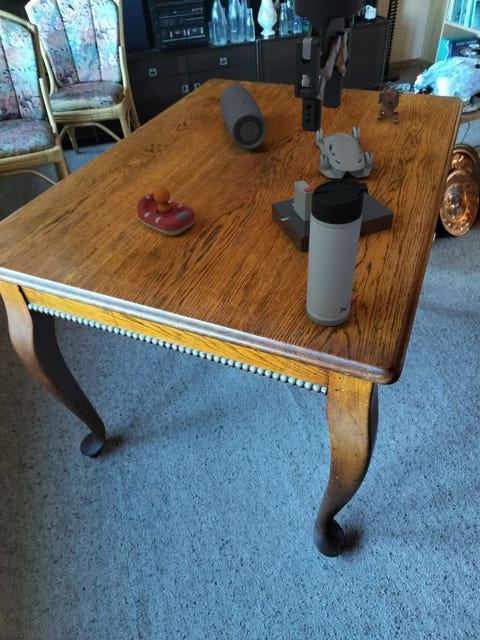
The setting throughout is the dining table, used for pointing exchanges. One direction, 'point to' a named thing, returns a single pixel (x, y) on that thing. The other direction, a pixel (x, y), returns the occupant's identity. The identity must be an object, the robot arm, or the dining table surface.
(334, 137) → the grey lumpy piece
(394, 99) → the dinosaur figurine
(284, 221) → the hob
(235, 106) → the bluetooth speaker
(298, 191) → the grey rectangular block
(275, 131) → the dining table surface
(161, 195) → the toy boat
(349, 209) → the travel mug
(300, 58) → the robot arm
